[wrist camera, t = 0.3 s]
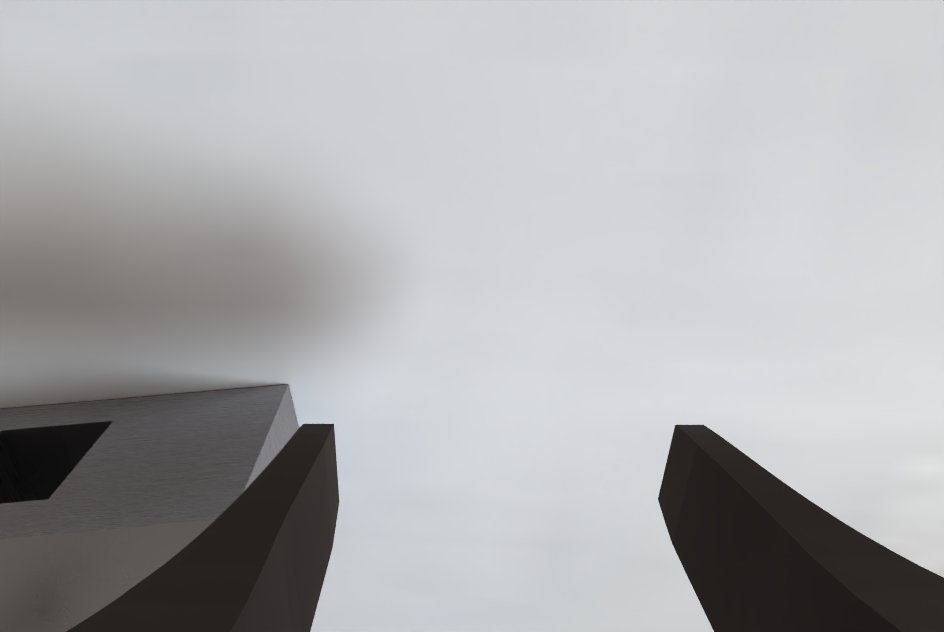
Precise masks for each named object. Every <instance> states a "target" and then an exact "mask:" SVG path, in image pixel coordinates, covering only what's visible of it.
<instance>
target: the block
mask: <svg viewBox="0 0 944 632" xmlns="http://www.w3.org/2000/svg"><path fill="white" fill-rule="evenodd" d="M298 429H299V427H298V422H297V418H296V414H295V410H294V406H293V401H292V397H291V393H290V389H289V385H288V384H287V385H275V386H263V387H252V388H240V389H228V390H217V391H205V392H193V393H182V394H170V395H158V396H146V397H135V398H123V399H111V400H100V401H88V402H76V403H65V404H53V405H41V406H30V407H18V408H6V409H0V632H66V631H68V630H69V629H71V628H73V627H74V626H76V625H78V624H79V623H81V622H82V621H84V620H86V619H87V618H89V617H90V616H92V615H93V614H95V613H96V612H98V611H99V610H101V609H102V608H104V607H105V606H107V605H108V604H110V603H111V602H113V601H114V600H116V599H117V598H119V597H120V596H121V595H123V594H124V593H125V592H127V591H128V590H130V589H131V588H132V587H134V586H135V585H136V584H138V583H139V582H141V581H142V580H143V579H145V578H146V577H148V576H149V575H150V574H152V573H153V572H154V571H156V570H157V569H158V568H160V567H161V566H162V565H164V564H165V563H166V562H167V561H169V560H170V559H171V558H172V557H174V556H175V555H176V554H177V553H178V552H180V551H181V550H182V549H183V548H184V547H186V546H187V545H188V544H189V543H190V542H191V541H193V540H194V539H195V538H196V537H197V536H198V535H199V534H200V533H202V532H203V531H204V530H205V529H206V528H207V527H208V526H209V525H210V524H211V523H212V522H213V521H214V520H216V519H217V518H218V517H219V516H220V515H221V514H222V513H223V512H224V511H225V510H226V509H227V508H228V507H229V506H230V505H231V504H232V503H233V502H234V501H235V500H236V499H237V498H238V497H239V496H240V495H241V494H242V493H243V492H244V491H245V490H246V489H247V487H248V486H249V485H250V484H251V483H252V482H253V481H254V480H255V479H256V478H257V477H258V475H259V474H260V473H261V472H262V471H263V470H264V469H265V468H266V467H267V466H268V464H269V463H270V462H271V461H272V460H273V459H274V457H275V456H276V455H277V454H278V453H279V452H280V450H281V449H282V448H283V447H284V446H285V444H286V443H287V442H288V441H289V440H290V438H291V437H292V436H293V435H294V433H295V432H296V431H297V430H298Z"/></svg>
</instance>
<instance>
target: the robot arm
mask: <svg viewBox="0 0 944 632" xmlns="http://www.w3.org/2000/svg"><path fill="white" fill-rule="evenodd" d="M658 500H659V504H660V507H661V510H662V513H663V517H664V520H665V523H666V526H667V529H668V532H669V535H670V538H671V541H672V544H673V546H674V548H675V550H676V553H677V555H678V557H679V559H680V561H681V563H682V565H683V567H684V570H685V572H686V574H687V576H688V578H689V580H690V582H691V584H692V586H693V589H694V591H695V593H696V595H697V597H698V599H699V601H700V603H701V605H702V607H703V609H704V611H705V614H706V616H707V618H708V620H709V622H710V624H711V626H712V628H713V630H714V632H944V578H943V577H941V576H939V575H937V574H935V573H933V572H931V571H929V570H927V569H925V568H923V567H921V566H919V565H917V564H915V563H913V562H911V561H909V560H907V559H906V558H904V557H902V556H900V555H898V554H896V553H894V552H893V551H891V550H889V549H887V548H886V547H884V546H882V545H880V544H879V543H877V542H875V541H873V540H872V539H870V538H868V537H866V536H865V535H863V534H861V533H860V532H858V531H856V530H855V529H853V528H851V527H850V526H848V525H846V524H845V523H843V522H842V521H840V520H838V519H837V518H835V517H834V516H832V515H831V514H829V513H828V512H826V511H825V510H823V509H822V508H820V507H819V506H817V505H815V504H814V503H812V502H811V501H809V500H808V499H806V498H805V497H804V496H802V495H801V494H799V493H798V492H796V491H795V490H793V489H792V488H791V487H789V486H788V485H786V484H785V483H783V482H782V481H781V480H779V479H778V478H777V477H775V476H774V475H772V474H771V473H770V472H768V471H767V470H765V469H764V468H763V467H761V466H760V465H759V464H757V463H756V462H755V461H753V460H752V459H751V458H749V457H748V456H746V455H745V454H744V453H742V452H741V451H740V450H738V449H737V448H736V447H734V446H733V445H732V444H730V443H729V442H727V441H726V440H725V439H723V438H722V437H720V436H719V435H718V434H716V433H715V432H713V431H712V430H710V429H709V428H707V427H706V426H704V425H675V429H674V433H673V437H672V442H671V446H670V450H669V455H668V459H667V463H666V467H665V472H664V476H663V480H662V485H661V489H660V493H659V497H658ZM338 505H339V493H338V478H337V463H336V449H335V434H334V424H303V425H302V426H301V427H300V428H299V429H298V430H297V431H296V432H295V433H294V435H293V436H292V437H291V438H290V440H289V441H288V442H287V443H286V444H285V446H284V447H283V448H282V449H281V450H280V452H279V453H278V454H277V455H276V456H275V457H274V459H273V460H272V461H271V462H270V463H269V464H268V466H267V467H266V468H265V469H264V470H263V471H262V472H261V473H260V474H259V475H258V477H257V478H256V479H255V480H254V481H253V482H252V483H251V484H250V485H249V486H248V487H247V489H246V490H245V491H244V492H243V493H242V494H241V495H240V496H239V497H238V498H237V499H236V500H235V501H234V502H233V503H232V504H231V505H230V506H229V507H228V508H227V509H226V510H225V511H224V512H223V513H222V514H221V515H220V516H219V517H218V518H217V519H216V520H214V521H213V522H212V523H211V524H210V525H209V526H208V527H207V528H206V529H205V530H204V531H203V532H202V533H200V534H199V535H198V536H197V537H196V538H195V539H194V540H193V541H191V542H190V543H189V544H188V545H187V546H186V547H184V548H183V549H182V550H181V551H180V552H178V553H177V554H176V555H175V556H174V557H172V558H171V559H170V560H169V561H167V562H166V563H165V564H164V565H162V566H161V567H160V568H158V569H157V570H156V571H154V572H153V573H152V574H150V575H149V576H148V577H146V578H145V579H143V580H142V581H141V582H139V583H138V584H136V585H135V586H134V587H132V588H131V589H130V590H128V591H127V592H125V593H124V594H123V595H121V596H120V597H119V598H117V599H116V600H114V601H113V602H111V603H110V604H108V605H107V606H105V607H104V608H102V609H101V610H99V611H98V612H96V613H95V614H93V615H92V616H90V617H89V618H87V619H86V620H84V621H82V622H81V623H79V624H78V625H76V626H74V627H73V628H71V629H69V630H68V631H66V632H310V630H311V626H312V622H313V619H314V615H315V611H316V607H317V604H318V600H319V596H320V593H321V589H322V585H323V581H324V578H325V574H326V570H327V566H328V562H329V559H330V555H331V551H332V547H333V540H334V533H335V527H336V520H337V512H338Z"/></svg>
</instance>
